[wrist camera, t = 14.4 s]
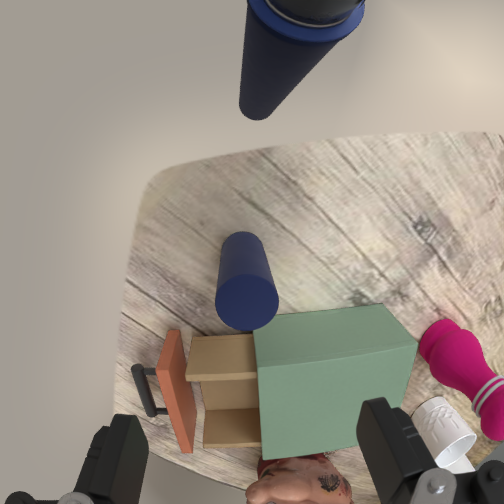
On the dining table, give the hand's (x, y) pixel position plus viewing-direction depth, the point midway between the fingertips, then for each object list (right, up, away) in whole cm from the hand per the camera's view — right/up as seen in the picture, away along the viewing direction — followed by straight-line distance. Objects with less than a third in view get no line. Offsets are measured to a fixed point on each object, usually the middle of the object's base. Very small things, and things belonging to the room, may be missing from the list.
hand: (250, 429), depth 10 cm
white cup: (+28, -19, +30) cm, 46 cm away
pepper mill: (+25, -5, +26) cm, 36 cm away
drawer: (-4, -7, +24) cm, 25 cm away
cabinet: (+8, -6, +25) cm, 27 cm away
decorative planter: (+7, -26, +31) cm, 41 cm away
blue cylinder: (-1, +6, +20) cm, 21 cm away
